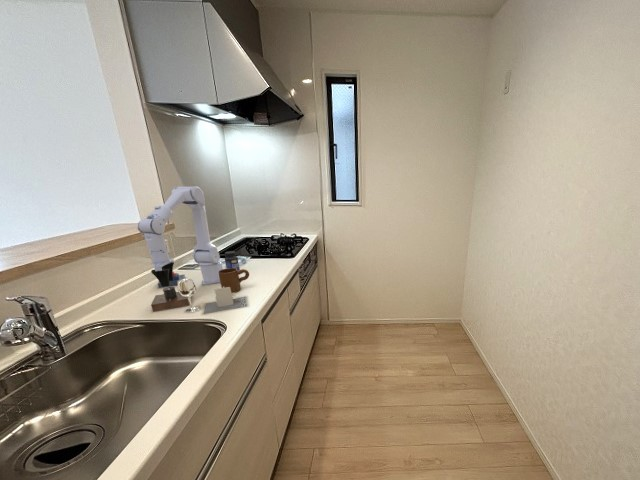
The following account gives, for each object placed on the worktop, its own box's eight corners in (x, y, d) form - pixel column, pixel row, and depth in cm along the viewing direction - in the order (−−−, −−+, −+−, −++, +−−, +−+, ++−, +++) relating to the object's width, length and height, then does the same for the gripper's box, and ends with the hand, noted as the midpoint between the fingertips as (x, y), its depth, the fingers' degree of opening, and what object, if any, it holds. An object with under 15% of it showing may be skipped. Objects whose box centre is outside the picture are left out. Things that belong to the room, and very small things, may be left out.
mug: (252, 285, 145) (248, 266, 142) (251, 290, 138) (247, 270, 135) (223, 289, 141) (219, 269, 138) (221, 294, 134) (216, 274, 131)
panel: (191, 296, 133) (189, 289, 132) (189, 305, 124) (187, 298, 123) (157, 302, 128) (155, 294, 127) (153, 311, 119) (150, 304, 118)
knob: (166, 296, 126) (163, 287, 124) (177, 294, 127) (175, 285, 126) (164, 299, 123) (161, 290, 121) (176, 297, 124) (173, 288, 123)
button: (175, 274, 151) (174, 271, 150) (174, 276, 148) (173, 272, 147) (166, 275, 149) (165, 272, 149) (165, 277, 146) (164, 274, 146)
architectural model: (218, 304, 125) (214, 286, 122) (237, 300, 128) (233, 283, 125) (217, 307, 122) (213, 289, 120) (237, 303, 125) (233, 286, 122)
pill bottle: (235, 274, 160) (231, 253, 156) (224, 274, 161) (220, 253, 157) (242, 271, 166) (238, 250, 162) (232, 270, 167) (228, 250, 163)
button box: (185, 278, 156) (183, 270, 155) (184, 284, 148) (181, 276, 146) (161, 281, 152) (159, 274, 150) (158, 288, 143) (156, 280, 142)
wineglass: (188, 307, 123) (180, 278, 118) (203, 306, 123) (196, 277, 119) (180, 313, 117) (172, 283, 113) (196, 312, 118) (188, 282, 113)
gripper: (166, 253, 115) (176, 287, 120) (173, 245, 127) (182, 276, 132) (143, 255, 112) (154, 290, 117) (153, 247, 125) (162, 278, 130)
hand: (167, 283), depth 125 cm, fingers open, 7 cm apart
